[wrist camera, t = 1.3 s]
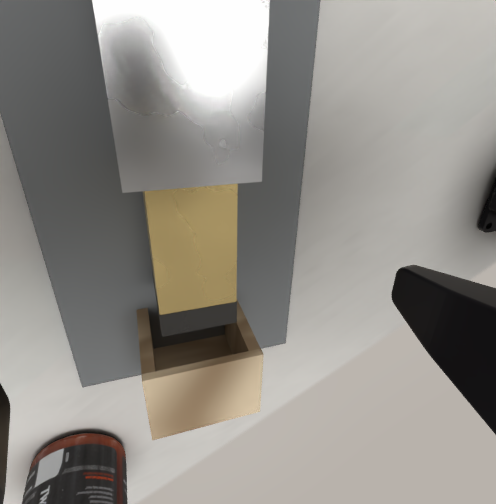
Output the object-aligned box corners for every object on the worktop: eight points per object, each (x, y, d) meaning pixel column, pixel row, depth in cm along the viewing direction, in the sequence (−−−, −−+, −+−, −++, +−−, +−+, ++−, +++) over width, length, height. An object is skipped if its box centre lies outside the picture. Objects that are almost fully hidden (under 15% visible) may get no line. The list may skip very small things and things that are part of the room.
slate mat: (323, -76, 14) (328, -78, 14) (283, 339, 25) (285, 343, 25) (-68, -128, 11) (-73, -133, 10) (83, 382, 22) (82, 387, 21)
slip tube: (212, -63, 12) (241, -95, 10) (219, 282, 20) (236, 322, 17) (107, -75, 12) (105, -114, 9) (154, 292, 19) (162, 336, 16)
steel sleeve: (226, -74, 13) (275, -126, 9) (227, 148, 17) (261, 181, 13) (83, -91, 12) (66, -162, 8) (120, 154, 16) (122, 193, 12)
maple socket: (234, 293, 21) (263, 354, 17) (233, 345, 23) (259, 411, 19) (136, 309, 20) (142, 381, 16) (145, 364, 22) (152, 440, 18)
